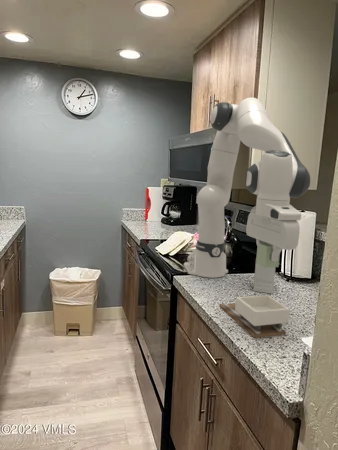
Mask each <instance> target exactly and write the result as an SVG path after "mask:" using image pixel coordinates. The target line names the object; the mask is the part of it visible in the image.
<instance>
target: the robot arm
mask: <svg viewBox="0 0 338 450" xmlns="http://www.w3.org/2000/svg"><path fill="white" fill-rule="evenodd" d="M265 107H266V106H264V104H263V102H262V101H261V100H260V99H258V98H256V97H247V98H244V99H242V100H241V101H240V102H239V103H238V104H236V103H229V102H228V101H227V102H225V101H224V102H222V101H221V102H218V103H216V104H215V105H214V106H213V109H212V110H211V112H210V119H209V120H210V126H211V128H212V129H214V130H216V133H215V136H214V138H213V143H212V146H211V151H210V155H209V159H208V160H209V161H208V165H207V177H206V178H207V181H206V185H205V186H203V187H202V188H201V189H200V190H199V191H198V193H197V196H196V203H197V209H198V222H199V223H198V227H199V228H198V239H197V240H196V245H195V249H193V250H192V251H191V252H190V253H189V255H187V261H185V262H184V263H183V266H184V268H185V270H186V272H187V274H188V275H192V276H193V275H194V276H199V277H203V278H213V279H214V278H221V277H224V276H225V275H226V274H228V273H229V269H227V255H226V253H225V252H224V251H225V244H226V243H225V231H226V230H225V229H226V224H225V207H226V206H227V205H228V203H229V202H230V199H231V194H232V193H231V192H232V187H233V186H232V185H233V180H234V179H233V178H234V173H235V168H236V163H237V161H238V154H239V151H240V146H241V142H242V144H244V145H245V146H246V147H248V148H251V149H255V150H258V151H264V152H262V156H261V160H259V161H258V162H257V163H253V164H251V165H250V166H249V167H248V169H246V173H245V185H244V186H245V188H246V189H247V190H248V191H249V193H251V194H254V195H256V203H255V206H253V208H251V209H250V213H249V214H248V217H247V222H246V229H245V233H246V236H249V237H250V238H253V239H255V240H256V241H255V242H256V246H258V243H269V244H271V245H273V249H274V250H273V252H272V254H270V258H269V259H270V260H271V261H278V255H279V254H280V255H281V252H282V250H285V251H287V250H288V251H289V250H296V248H297V247H298V245H299V238H300V229H301V228H300V223H299V221H300V220H301V219H302V213H301V212H300V210H298V209H296V208H295V207H294V206H293V205H292V204H291V203H290V202H291V199H298V198H300V197H302V196H303V195H305V193H307V191H308V190H309V189H310V186H311V175H310V172H309V170H308V169H307V167H306V166H305V165H304V164H303V162H301V160H300V159H299V157H298V154H297V153H296V152H295V150H294V147H293V146H292V144H291V142H290V141H289V139H288V138H287V136H286V135H285V133H284V132H283V131H281V130H280V129H278V128H277V127H276V126H275V125H274V124H273V123H272V122H271V120H270V117H269V115H268V112H267V110H266V108H265Z"/></svg>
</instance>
